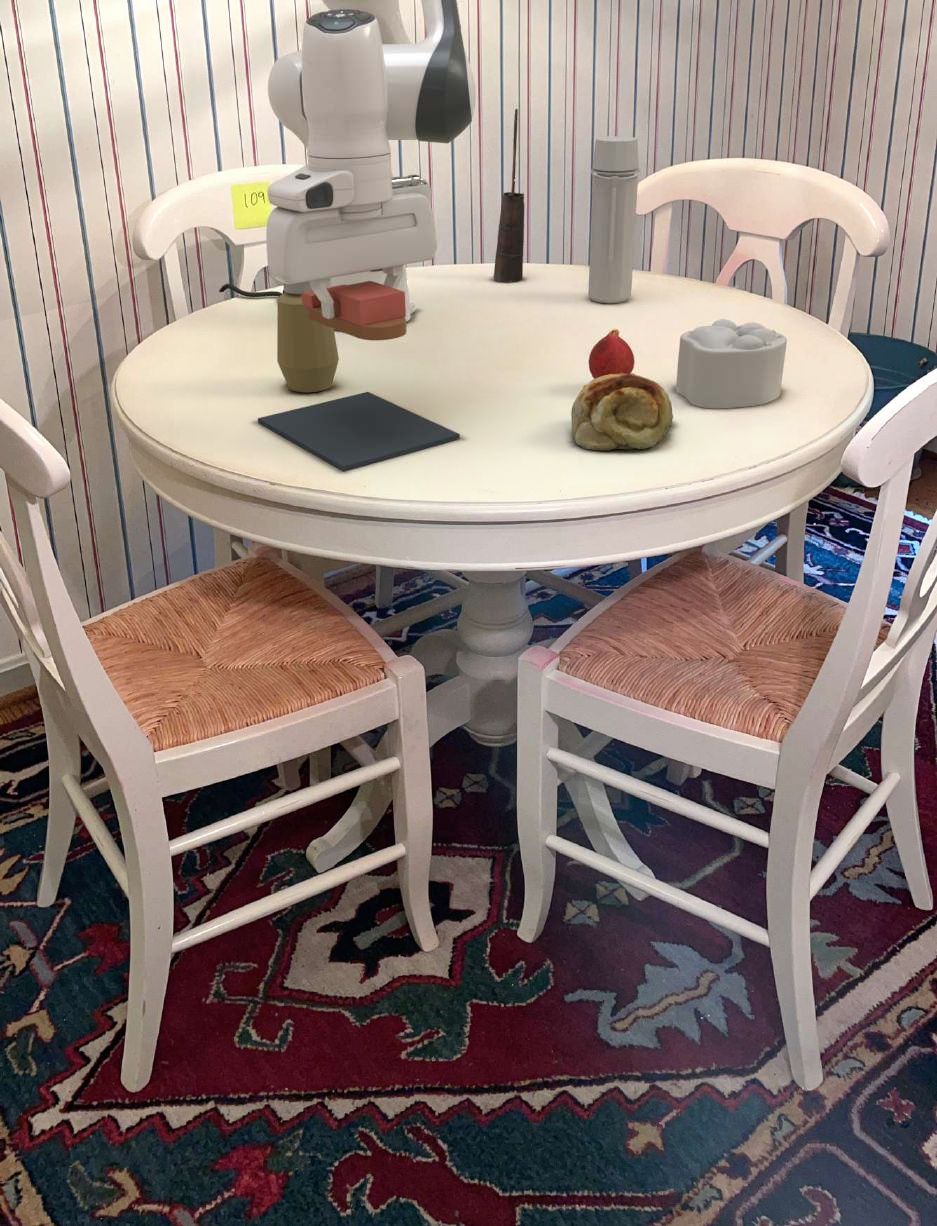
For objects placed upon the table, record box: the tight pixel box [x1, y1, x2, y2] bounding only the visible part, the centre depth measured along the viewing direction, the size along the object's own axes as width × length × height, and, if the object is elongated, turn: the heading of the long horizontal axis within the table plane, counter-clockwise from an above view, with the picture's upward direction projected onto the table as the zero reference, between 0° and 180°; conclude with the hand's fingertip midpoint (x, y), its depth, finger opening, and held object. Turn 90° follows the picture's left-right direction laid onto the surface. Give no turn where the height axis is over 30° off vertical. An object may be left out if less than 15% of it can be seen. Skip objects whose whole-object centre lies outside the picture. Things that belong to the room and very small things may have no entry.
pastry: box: [570, 372, 674, 451], centre depth 129 cm, size 14×12×8 cm
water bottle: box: [587, 135, 642, 305], centre depth 180 cm, size 9×8×25 cm
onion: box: [588, 328, 636, 380], centre depth 144 cm, size 6×6×8 cm
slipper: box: [301, 281, 407, 341], centre depth 126 cm, size 16×6×4 cm, turn 37°
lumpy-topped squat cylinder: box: [675, 318, 788, 409], centre depth 141 cm, size 10×13×9 cm
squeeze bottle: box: [276, 281, 340, 393], centre depth 144 cm, size 8×8×18 cm
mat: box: [257, 391, 461, 472], centre depth 133 cm, size 20×16×1 cm
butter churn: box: [493, 108, 525, 283], centre depth 192 cm, size 9×10×28 cm
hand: (359, 311), depth 126 cm, fingers closed on slipper, 6 cm apart
